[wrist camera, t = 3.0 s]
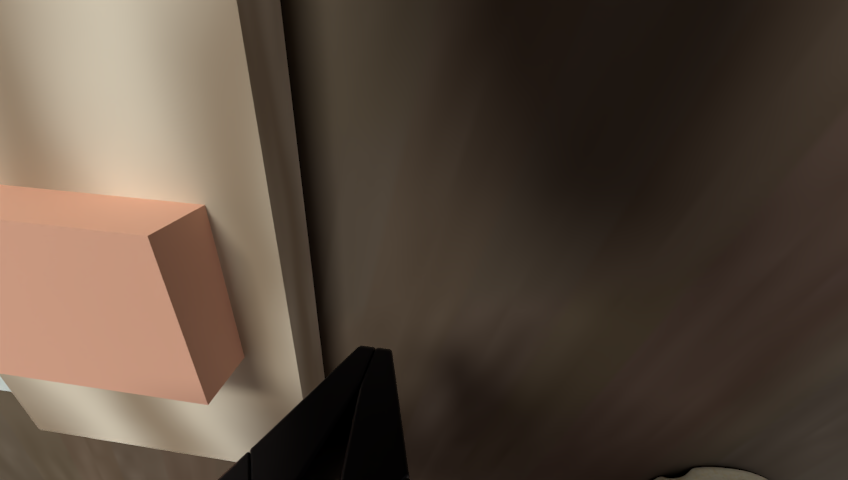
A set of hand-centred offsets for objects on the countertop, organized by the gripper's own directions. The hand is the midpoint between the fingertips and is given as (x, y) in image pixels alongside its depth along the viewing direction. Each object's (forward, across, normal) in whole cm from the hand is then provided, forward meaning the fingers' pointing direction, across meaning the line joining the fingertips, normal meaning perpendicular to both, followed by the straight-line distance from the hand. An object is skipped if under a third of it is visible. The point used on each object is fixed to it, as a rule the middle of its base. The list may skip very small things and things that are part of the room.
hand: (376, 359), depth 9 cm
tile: (+2, +10, 0) cm, 10 cm away
